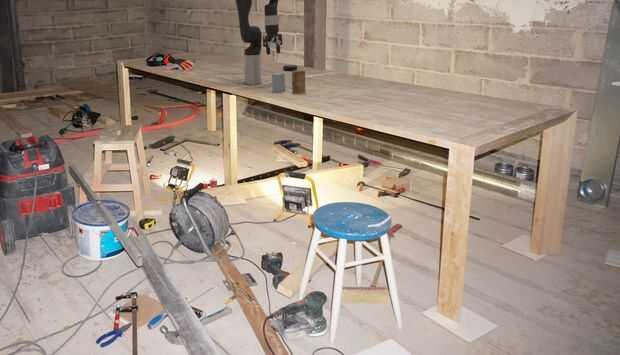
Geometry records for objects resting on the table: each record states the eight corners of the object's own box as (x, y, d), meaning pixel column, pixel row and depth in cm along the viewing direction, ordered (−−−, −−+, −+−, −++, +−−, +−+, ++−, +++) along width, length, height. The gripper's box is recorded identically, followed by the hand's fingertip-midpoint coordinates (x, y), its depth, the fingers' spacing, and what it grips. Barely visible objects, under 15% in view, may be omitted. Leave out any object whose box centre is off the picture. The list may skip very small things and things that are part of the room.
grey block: (272, 92, 306) (271, 73, 303) (277, 90, 310) (277, 72, 307) (279, 93, 303) (279, 74, 300) (284, 91, 307) (284, 73, 304)
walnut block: (292, 93, 302) (291, 71, 299) (299, 92, 306) (298, 70, 302) (298, 94, 299) (298, 72, 295) (305, 93, 302) (305, 71, 298)
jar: (281, 88, 318) (281, 66, 314) (284, 85, 326) (283, 64, 322) (296, 88, 317) (296, 67, 313) (299, 85, 324) (299, 65, 320)
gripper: (274, 23, 317) (276, 52, 322) (258, 24, 306) (260, 54, 311) (284, 23, 312) (286, 52, 317) (268, 24, 302) (270, 55, 306)
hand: (273, 53), depth 314 cm, fingers open, 8 cm apart
